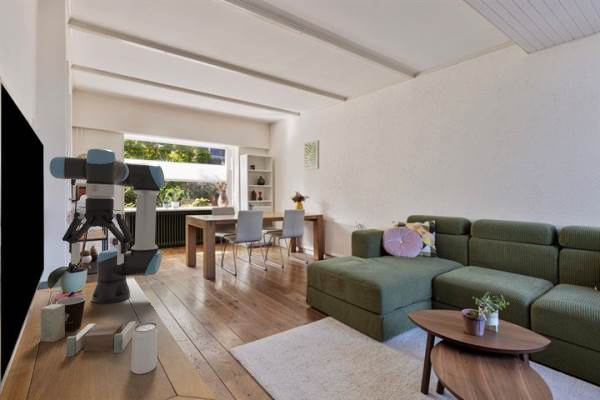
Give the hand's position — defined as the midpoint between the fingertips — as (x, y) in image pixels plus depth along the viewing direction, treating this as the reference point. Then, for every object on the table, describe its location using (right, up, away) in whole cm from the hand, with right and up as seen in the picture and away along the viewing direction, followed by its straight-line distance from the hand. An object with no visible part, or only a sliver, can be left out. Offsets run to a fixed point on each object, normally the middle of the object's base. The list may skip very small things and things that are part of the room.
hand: (98, 263), depth 94 cm
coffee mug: (-21, -27, +13) cm, 36 cm away
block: (0, -27, +3) cm, 27 cm away
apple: (-28, -26, +23) cm, 45 cm away
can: (+20, -28, -10) cm, 36 cm away
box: (-19, -27, +5) cm, 33 cm away
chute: (0, -27, +3) cm, 27 cm away
